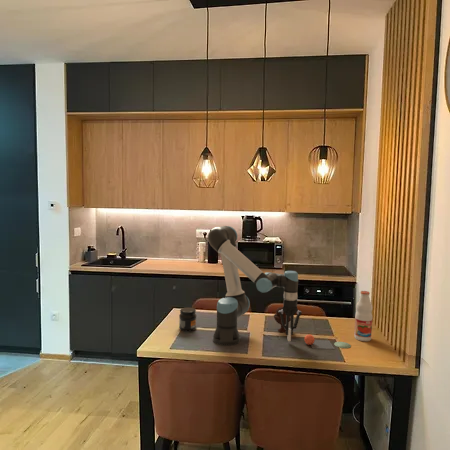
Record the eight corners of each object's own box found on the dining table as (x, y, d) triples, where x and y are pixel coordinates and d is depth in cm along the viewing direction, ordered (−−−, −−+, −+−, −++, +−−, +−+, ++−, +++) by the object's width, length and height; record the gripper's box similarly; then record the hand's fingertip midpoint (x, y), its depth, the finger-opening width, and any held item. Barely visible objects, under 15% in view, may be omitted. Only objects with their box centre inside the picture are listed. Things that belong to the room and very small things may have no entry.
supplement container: (199, 328, 233) (200, 309, 232) (188, 333, 224) (188, 313, 223) (187, 324, 239) (187, 306, 238) (175, 329, 230) (175, 310, 229)
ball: (313, 347, 208) (303, 343, 208) (311, 344, 214) (302, 340, 214) (317, 338, 208) (307, 335, 208) (314, 335, 213) (306, 331, 213)
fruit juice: (366, 335, 227) (369, 289, 225) (374, 341, 218) (376, 293, 215) (351, 335, 226) (353, 289, 224) (358, 341, 217) (360, 293, 215)
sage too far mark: (336, 348, 207) (336, 347, 207) (332, 341, 216) (332, 341, 216) (353, 348, 207) (353, 348, 207) (348, 342, 216) (348, 341, 216)
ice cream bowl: (291, 334, 225) (292, 310, 224) (272, 333, 227) (273, 308, 226) (291, 328, 236) (292, 305, 234) (273, 327, 238) (274, 303, 237)
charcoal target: (312, 348, 205) (312, 348, 205) (308, 340, 217) (308, 339, 217) (334, 349, 205) (334, 348, 205) (329, 340, 217) (329, 340, 217)
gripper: (279, 300, 206) (278, 342, 208) (303, 301, 206) (301, 343, 208) (277, 296, 213) (276, 337, 215) (300, 297, 213) (299, 338, 215)
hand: (288, 340), depth 211 cm, fingers closed
